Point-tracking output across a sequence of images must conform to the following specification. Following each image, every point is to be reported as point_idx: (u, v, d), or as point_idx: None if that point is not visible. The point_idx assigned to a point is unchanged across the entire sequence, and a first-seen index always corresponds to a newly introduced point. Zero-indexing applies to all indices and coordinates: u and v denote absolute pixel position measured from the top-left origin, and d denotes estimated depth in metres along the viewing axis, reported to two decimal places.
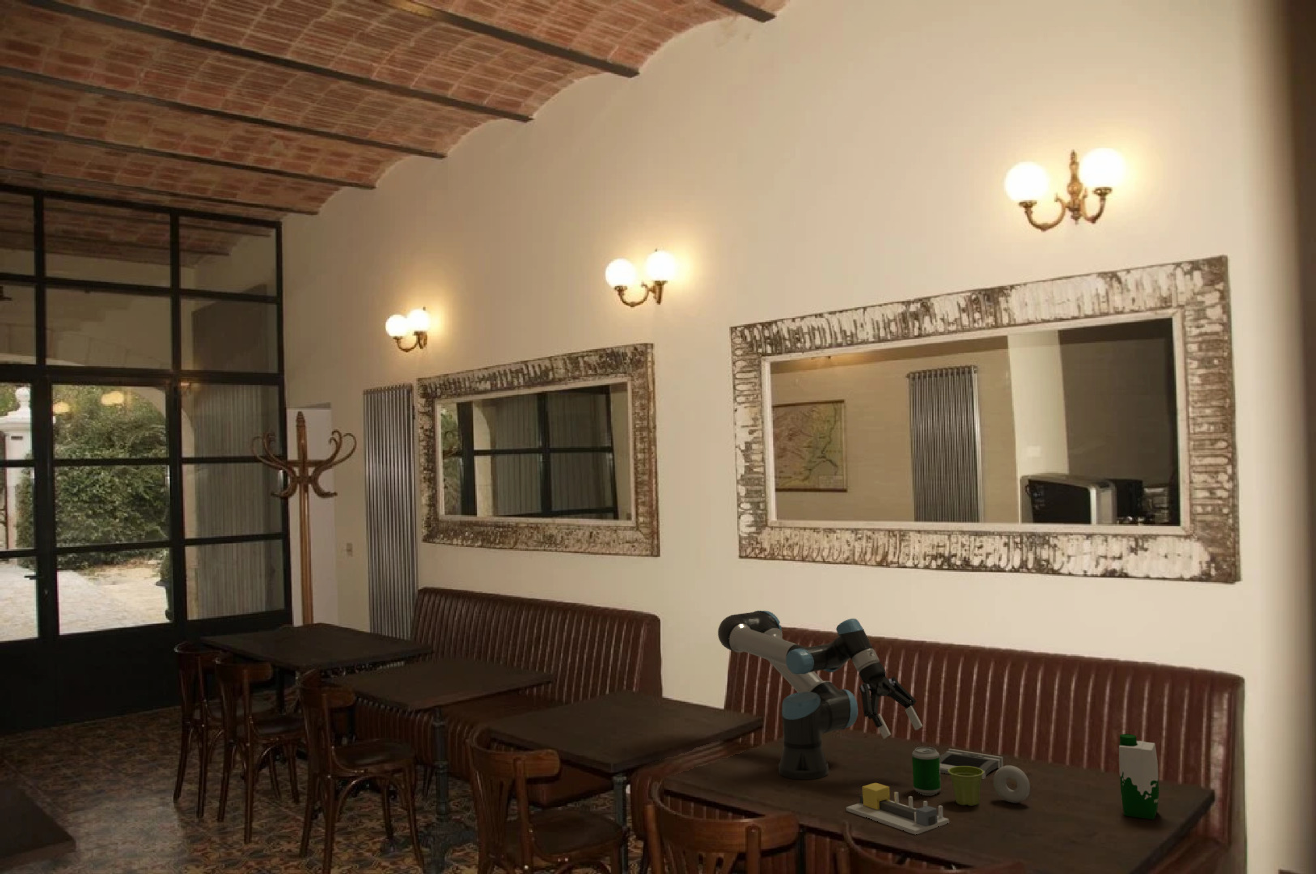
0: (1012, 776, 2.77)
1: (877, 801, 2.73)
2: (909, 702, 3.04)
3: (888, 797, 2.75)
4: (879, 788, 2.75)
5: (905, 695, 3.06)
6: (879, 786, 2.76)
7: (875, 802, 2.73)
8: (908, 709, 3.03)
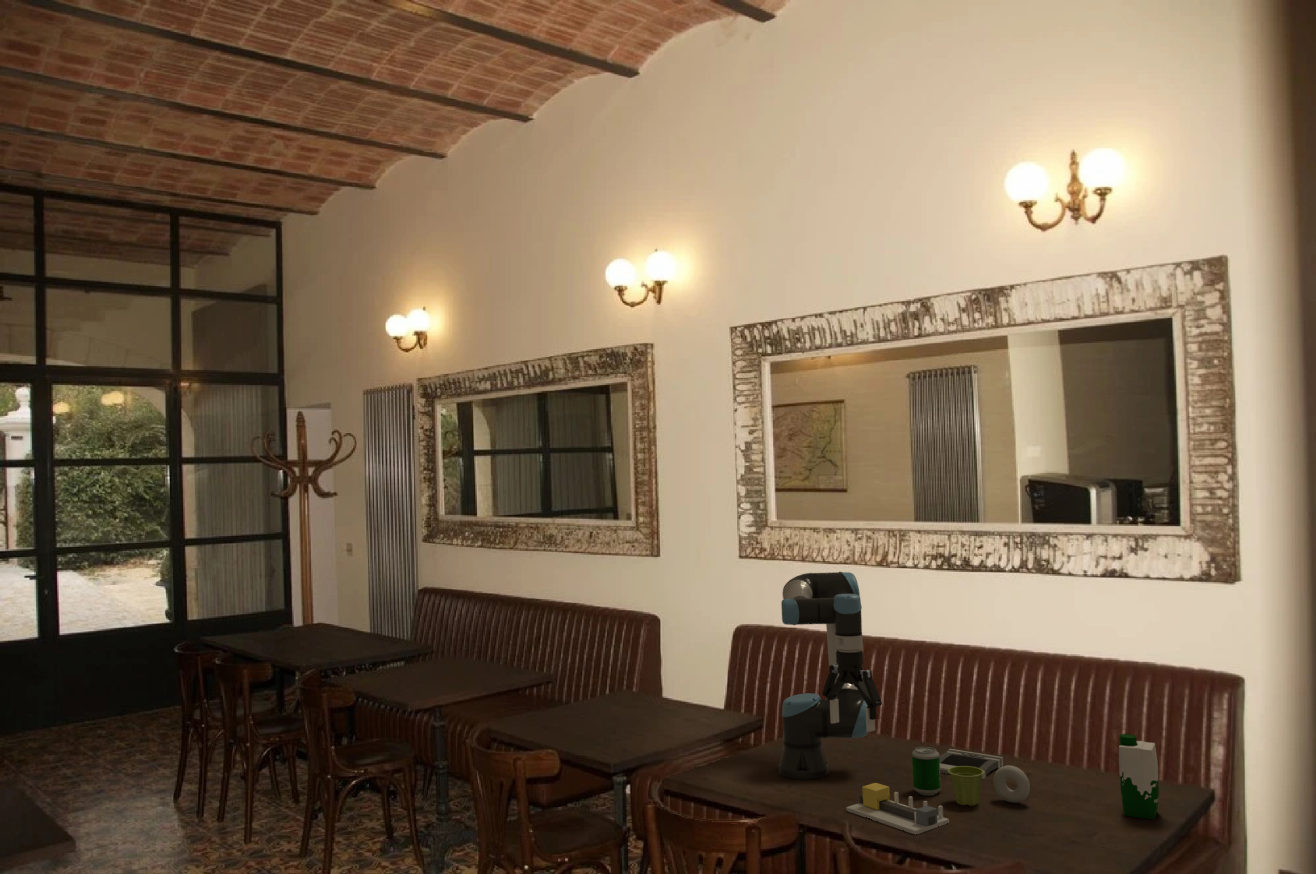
0: (1012, 776, 2.77)
1: (877, 801, 2.73)
2: (867, 703, 2.78)
3: (888, 797, 2.75)
4: (879, 788, 2.75)
5: None
6: (879, 786, 2.76)
7: (875, 802, 2.73)
8: None
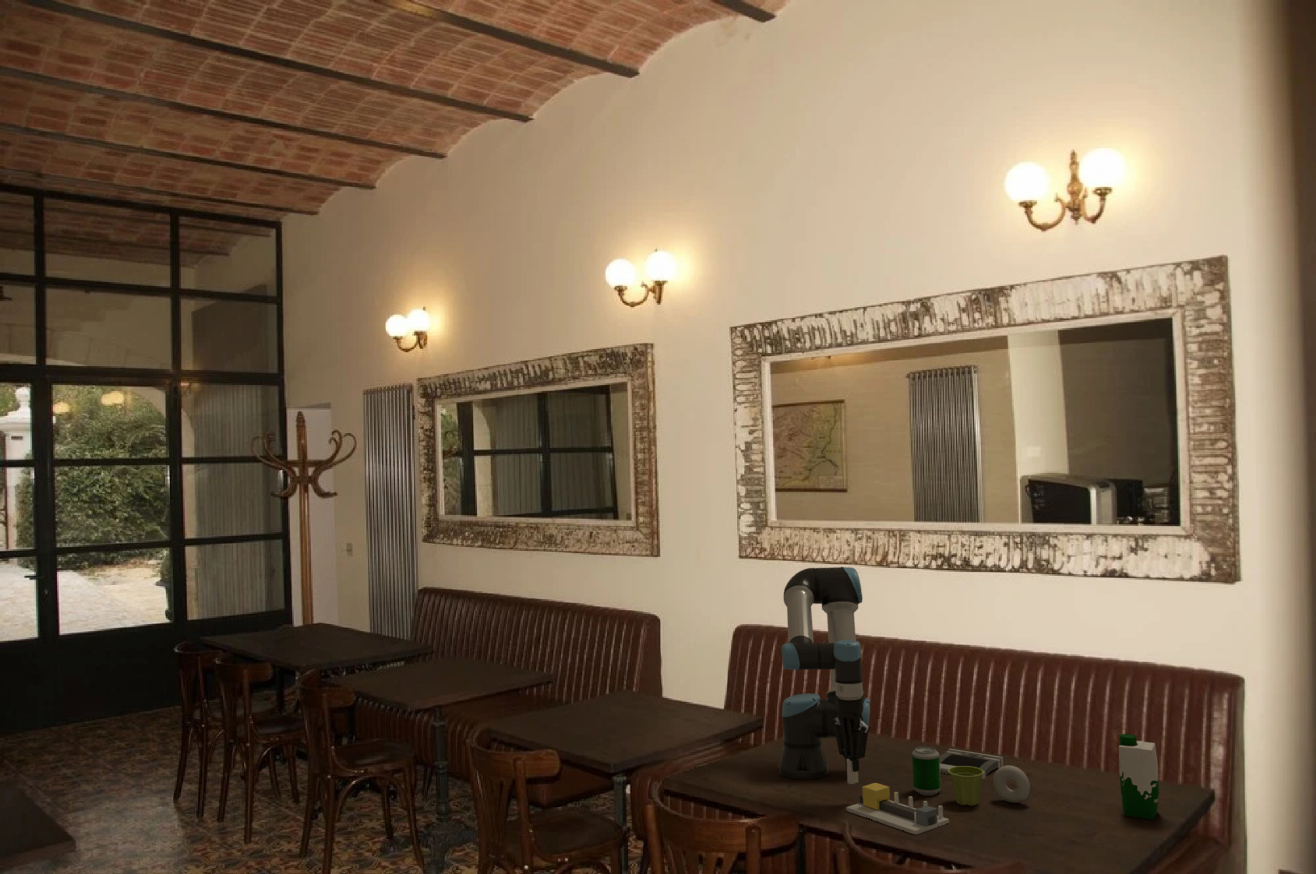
0: (1012, 776, 2.77)
1: (877, 801, 2.73)
2: (851, 755, 2.82)
3: (888, 797, 2.75)
4: (879, 788, 2.75)
5: None
6: (879, 786, 2.76)
7: (875, 802, 2.73)
8: None
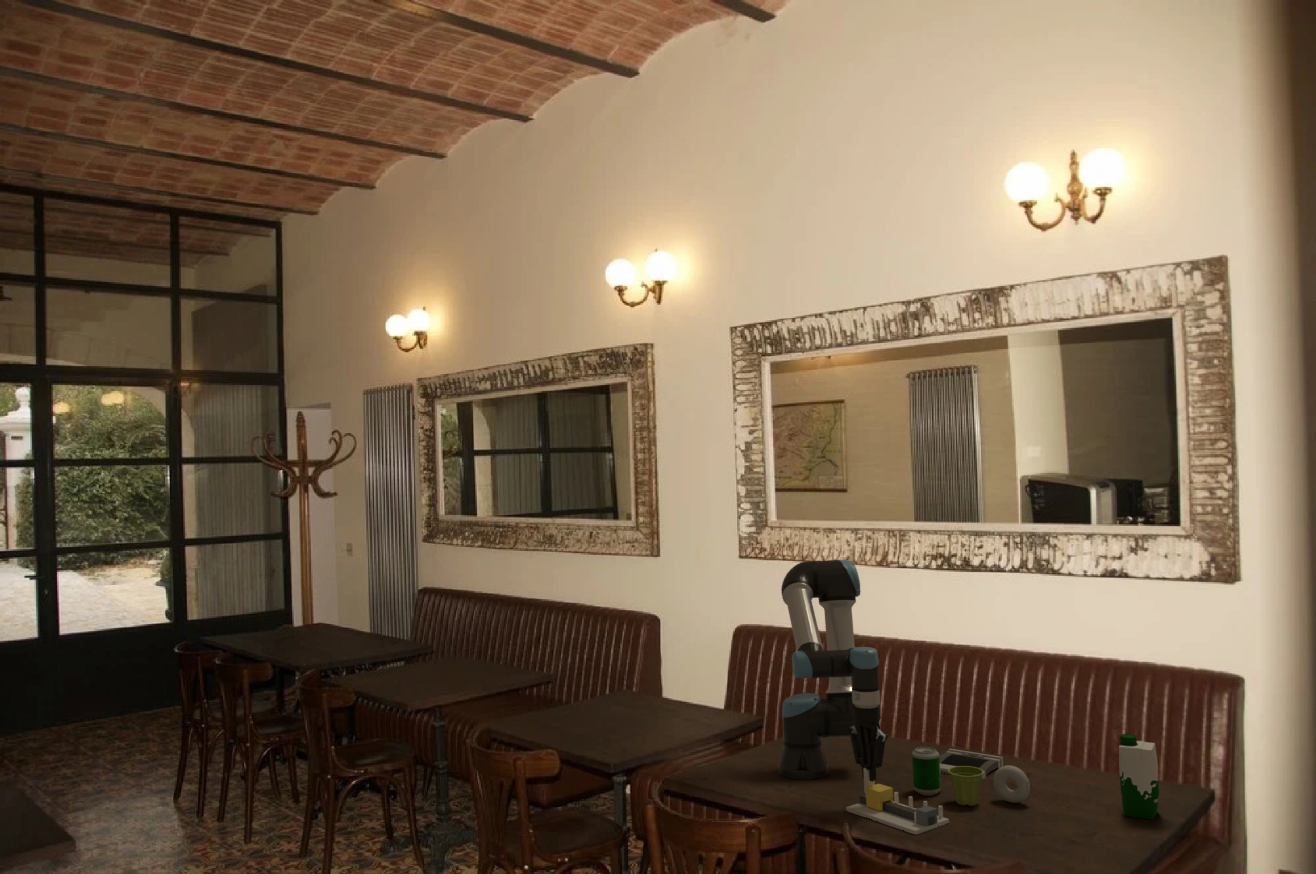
0: (1012, 776, 2.77)
1: (880, 802, 2.72)
2: (868, 764, 2.76)
3: (891, 798, 2.74)
4: (882, 789, 2.74)
5: None
6: (882, 787, 2.75)
7: (878, 803, 2.72)
8: None
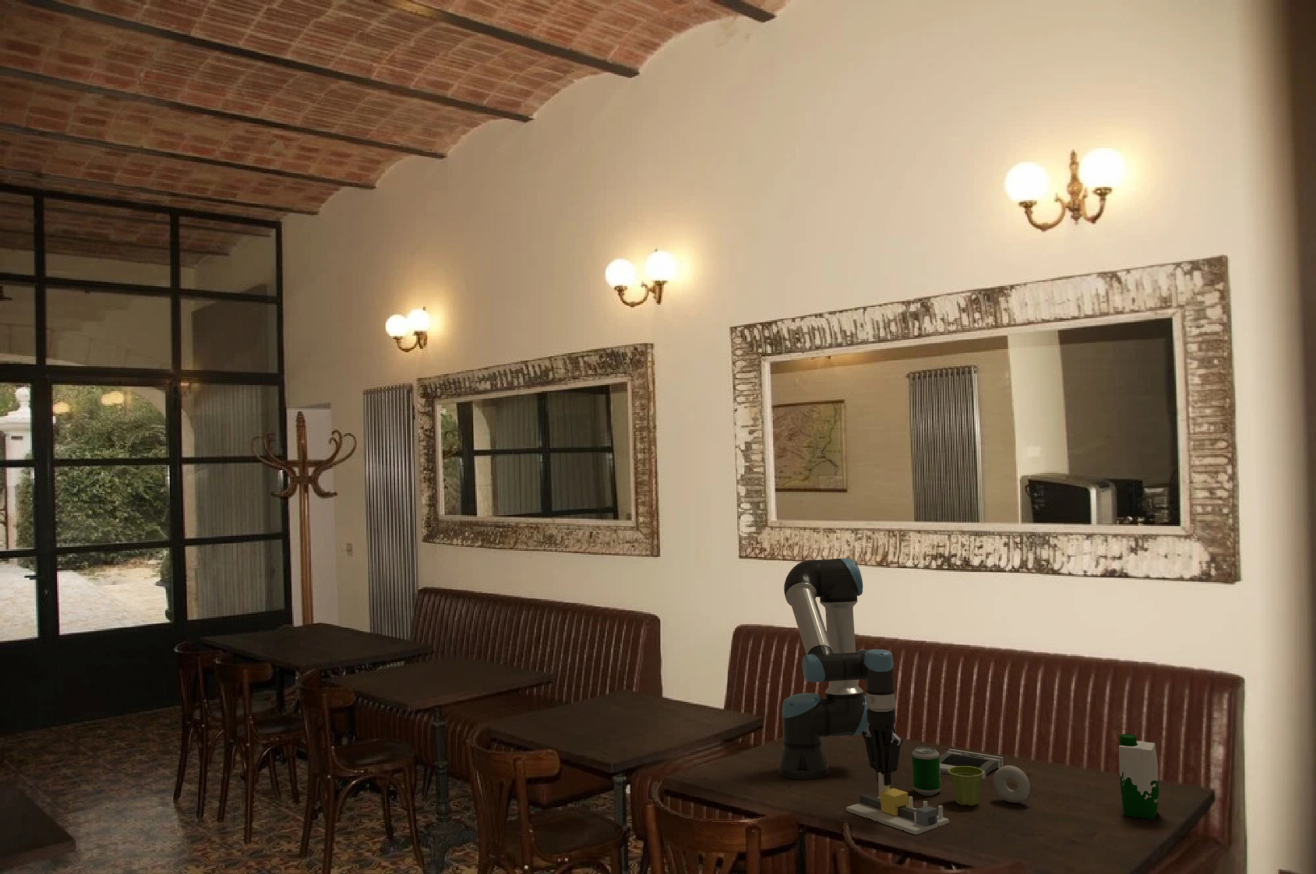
0: (1012, 776, 2.77)
1: (895, 807, 2.68)
2: (883, 768, 2.72)
3: (907, 803, 2.70)
4: (897, 793, 2.70)
5: None
6: (897, 792, 2.71)
7: (893, 808, 2.68)
8: None
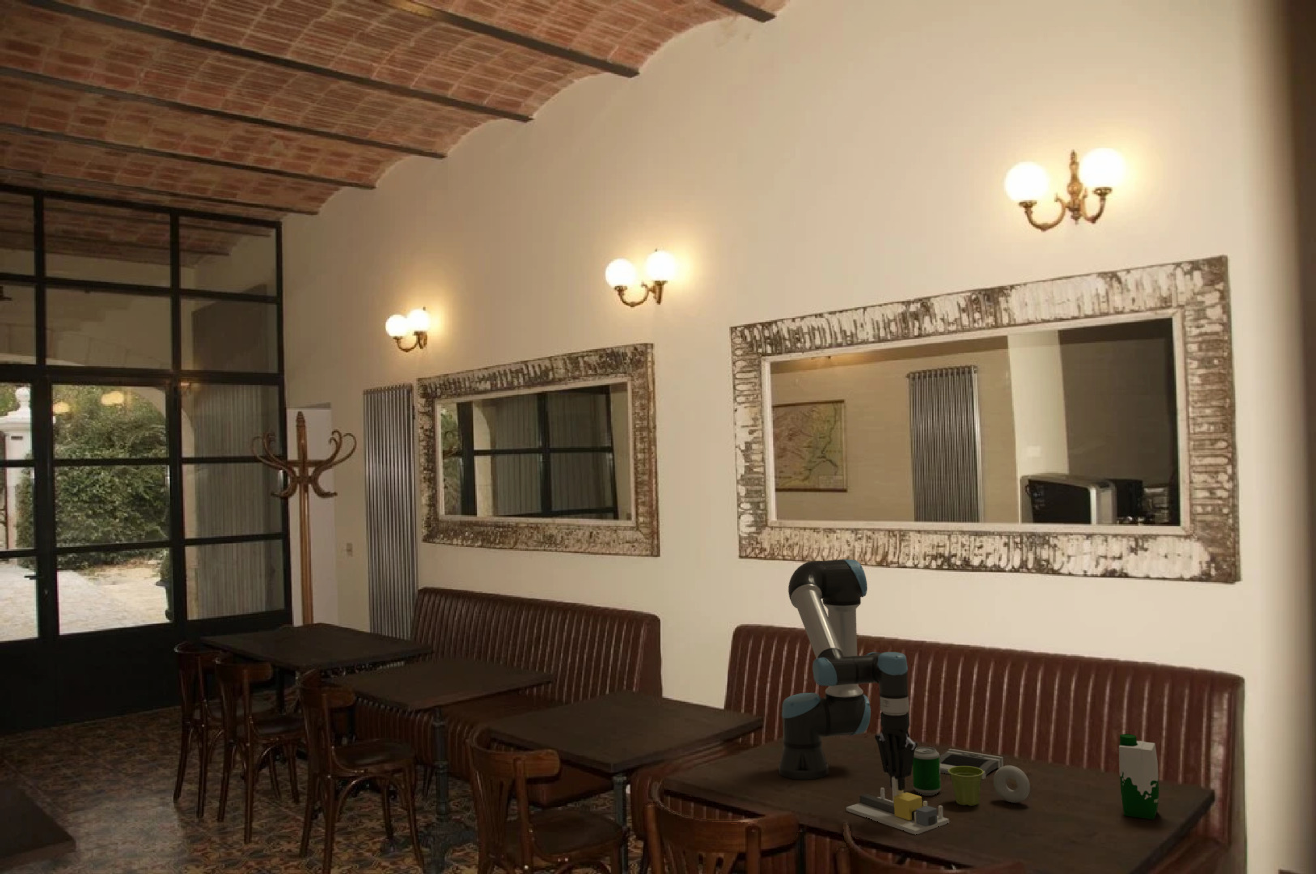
0: (1012, 776, 2.77)
1: (909, 811, 2.64)
2: (897, 773, 2.68)
3: (920, 807, 2.66)
4: (911, 798, 2.66)
5: None
6: (911, 796, 2.67)
7: (907, 813, 2.64)
8: None
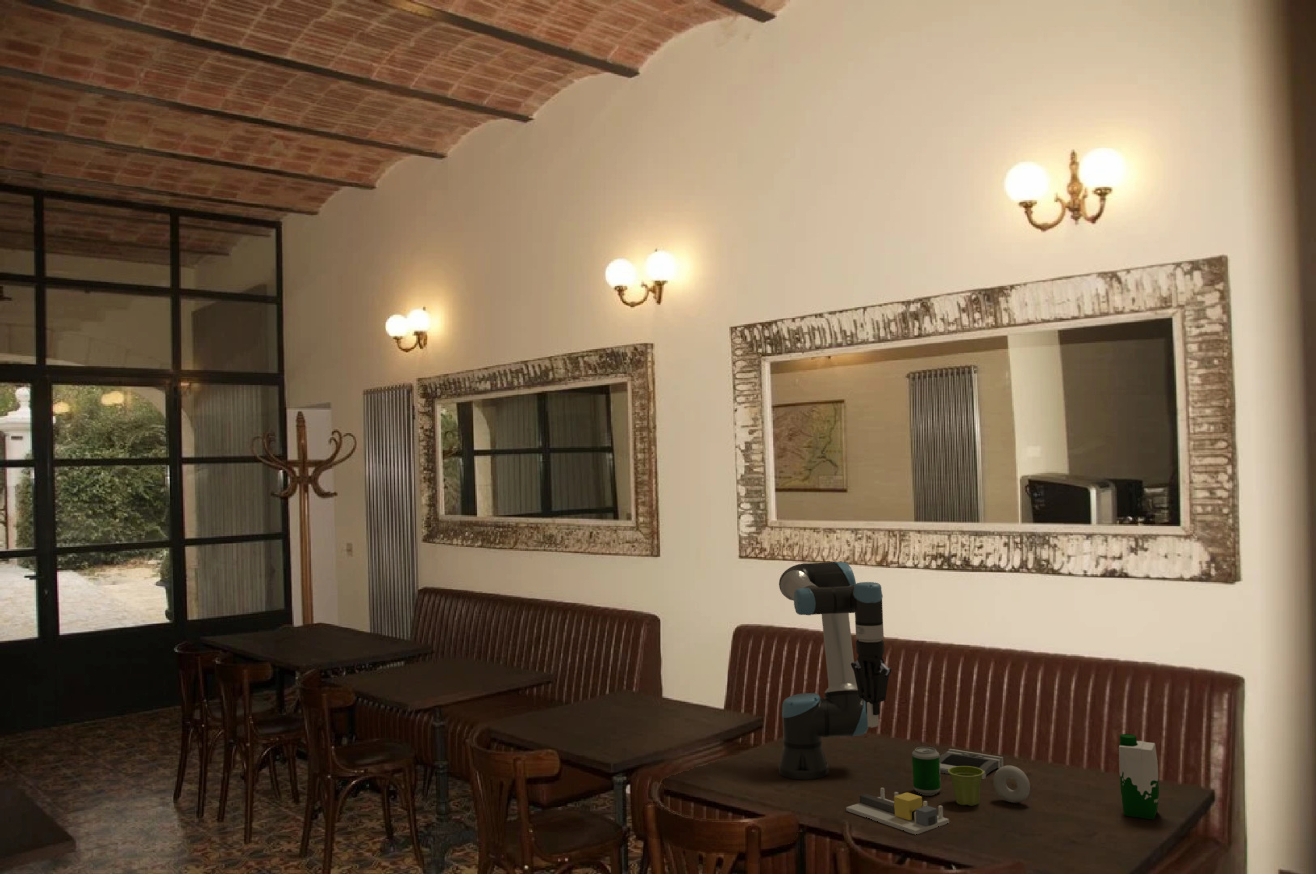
0: (1012, 776, 2.77)
1: (910, 812, 2.64)
2: (872, 698, 2.76)
3: None
4: (911, 798, 2.66)
5: None
6: (911, 796, 2.67)
7: (907, 813, 2.64)
8: None
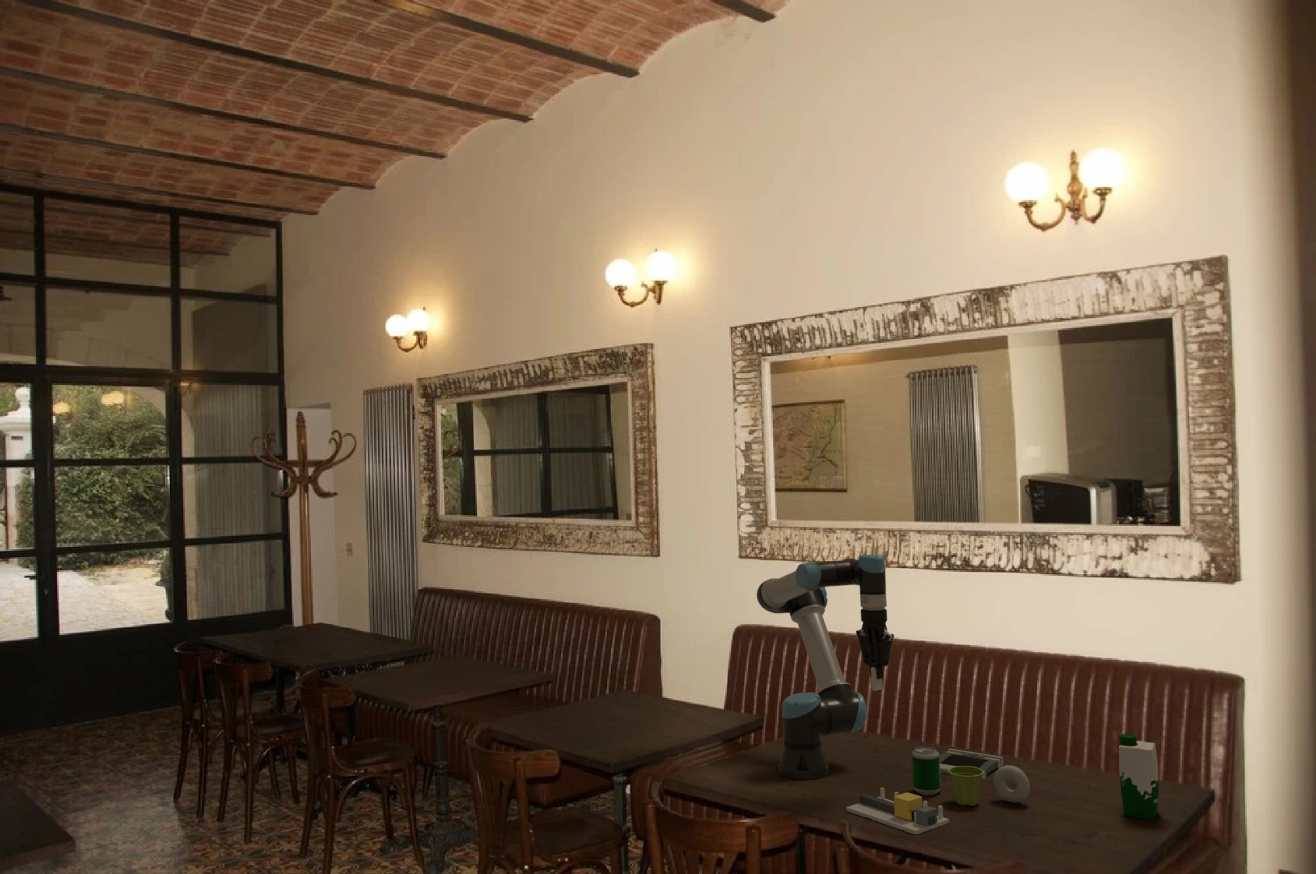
0: (1012, 776, 2.77)
1: (910, 812, 2.64)
2: (876, 663, 2.94)
3: None
4: (911, 798, 2.66)
5: None
6: (911, 796, 2.67)
7: (907, 813, 2.64)
8: None
